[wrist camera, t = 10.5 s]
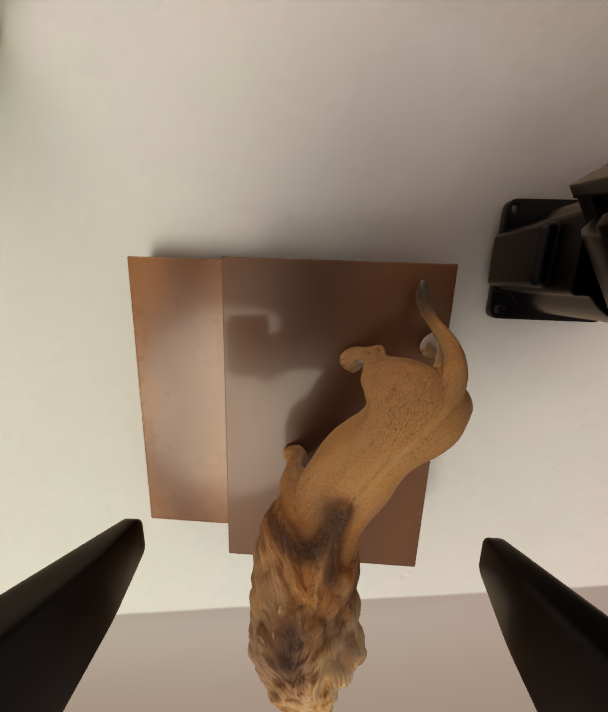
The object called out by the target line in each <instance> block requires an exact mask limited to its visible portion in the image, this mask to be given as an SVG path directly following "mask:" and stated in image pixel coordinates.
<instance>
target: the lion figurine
mask: <svg viewBox="0 0 608 712" xmlns="http://www.w3.org/2000/svg"><path fill="white" fill-rule="evenodd" d="M429 292H430V288H429V284H428V282H427V281H424V280H422V281H420V285H419V287H418V289H417V291H416V302H417V306H418V308H419V311H420V314H421V315H422V317H423V318H424V320H425V322H426V323H427V325H428V326H429V328H430V330H431V331H432V333H430V334H428V335H427V336H426V337H425V338H424V339H423V340H422V342H421V344H420V350H421V352H422V355H423V356H424V357H425V358H436V359H435V363H434V365H433V367H431V366H429V365H427V364H425V363H422V362H420V361H417V360H413V359H409V358H402V357H391V356H387V355H386V352H385V348H384V347H383V346H381V345H374V346H370V347H351V348H349V349H346V350H345V351H343V352H342V353H341V355H340V365H341V366H342V367H343V368H344V369H346V370H347V371H349V372H352V373H353V372H356V371H358V370H359V369H360V368H361V367H362V366H363V370H362V375H361V385H362V387H363V390H364V393H365V398H366V406H365V407H364V408H363V409H362V410H361V411H360V412H359V413H357V414H355V415H354V416H352V417H351V418H349V419H348V420H346V421H345V422H343V423H342V424H341V425H339V426H338V427H336V428H335V429H334V430H333V431H332V432H331V433H330V434H329V435H328V436H327V437H326V439H325V440H324V441H323V442H322V444H321V445H320V446H319V448H318V449H317V451H316V452H315V454H314V456H313V457H312V459H311V460H310V461H309V463H308V464H307V452H306V450H305V449H304V448H303V447H302V446H300V445H290V446H288V447H286V449H285V450H284V452H283V455H284V459H285V461H286V462H287V465H286V467H285V470H284V472H283V474H282V476H281V479H280V494H279V496H278V499H277V500H275V501H273V503H272V505H271V506H270V508H269V509H268V510H267V511H266V513H265V515H264V517H263V519H262V521H261V524H260V531H259V536H258V538H257V540H256V542H255V545H254V551H253V561H254V564H253V571H252V575H251V582H252V589H251V591H250V596H249V598H250V608H251V610H250V625H249V644H248V656H249V658H250V660H251V661H252V662H253V663H254V665H255V669H256V672H257V674H258V676H259V678H260V680H261V682H262V683H263V684H264V686H265V688H266V690H267V693H268V698H269V700H270V701H271V703H272V704H273V705H275V706H276V707H277V708H279V709H280V710H281V711H282V712H332V709H333V704H334V703H335V702H336V701H337V697H338V690H339V689H341V688H344V687H347V686H348V685H349V684H350V683H351V681H352V678H353V673H354V671H355V670H356V669H357V667H358V666H359V665H361V664H362V663H363V662H364V661H365V659H366V656H367V651H366V648H365V636H364V632H363V628H362V626H361V625H360V623H359V621H358V620H359V616H360V610H361V601H360V597H359V594H358V592H357V589H356V587H357V583H358V580H359V575H360V556H359V551H358V550H359V547H360V543H361V539H362V534H363V530H364V529H365V527H366V526H367V525H368V524H369V522H370V521H371V520H372V519H373V518H374V517H375V516H376V515H377V514H378V512H379V511H380V510H381V509H382V508H383V506H384V505H385V504H386V503H387V501H388V500H389V499H390V498H391V496H392V495H393V493H394V491H395V490H396V488H397V486H398V485H399V483H400V482H401V481H402V480H403V478H404V477H405V476H406V475H407V474H408V473H409V472H410V471H412V470H413V469H415V468H416V467H418V466H420V465H422V464H424V463H425V462H427V461H430V460H432V459H434V458H436V457H437V456H439V455H441V454H442V453H444V452H445V451H446V450H448V449H449V448H450V447H452V446H453V445H454V444H455V443H456V442H457V441H458V440H459V438H460V437H461V435H462V434H463V432H464V430H465V428H466V425H467V423H468V421H469V419H470V416H471V414H472V411H473V404H472V399H471V397H470V395H469V393H468V392H467V390H466V387H467V381H468V367H467V361H466V357H465V353H464V351H463V349H462V347H461V345H460V343H459V342H458V340H457V339H456V337H455V336H454V335H453V334H452V333H451V331H450V330H449V329H448V328H447V327H446V326H445V325H444V324H443V323H442V322H441V321H440V319H439V318H438V317H437V315H436V313H435V311H434V309H433V308H432V306H431V303H430V295H429ZM306 464H307V466H306ZM305 466H306V468H305Z"/></svg>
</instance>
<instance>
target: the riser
mask: <svg viewBox="0 0 608 712" xmlns="http://www.w3.org/2000/svg"><path fill="white" fill-rule="evenodd" d="M127 258H128V269H129V280H130V290H131V301H132V312H133V323H134V333H135V344H136V355H137V366H138V376H139V387H140V398H141V409H142V419H143V430H144V441H145V452H146V462H147V473H148V484H149V495H150V505H151V516H152V518H161V519H175V520H189V521H203V522H218V523H228V526H229V553H238V554H251V555H253V551H254V545H255V542H256V540H257V538H258V536H259V531H260V524H261V521H262V519H263V517H264V515H265V513H266V511H267V510H268V509H269V508H270V506H271V505H272V503H273V501H275V500H277V499H278V496H279V494H280V479H281V476H282V474H283V472H284V470H285V467H286V465H287V462H286V461H285V459H284V455H283V452H284V450H285V449H286V447H288V446H290V445H300V446H302V447H303V448H304V449H305V450H306V452H307V464H308V463H309V461H310V460H311V459H312V457H313V456H314V454H315V452H316V451H317V449H318V448H319V446H320V445H321V444H322V442H323V441H324V440H325V439H326V437H327V436H328V435H329V434H330V433H331V432H332V431H333V430H334V429H335V428H336V427H338V426H339V425H341V424H342V423H343V422H345V421H346V420H348V419H349V418H351V417H352V416H354V415H355V414H357V413H359V412H360V411H361V410H362V409H363V408H364V407H365V406H366V398H365V393H364V390H363V387H362V385H361V375H362V370H363V366H362V367H361V368H360V369H359V370H358V371H356V372H353V373H352V372H349V371H347V370H346V369H344V368H343V367H342V366H341V365H340V355H341V353H342V352H343V351H345V350H346V349H349V348H351V347H370V346H374V345H381V346H383V347H384V348H385V352H386V355H387V356H391V357H402V358H409V359H413V360H417V361H420V362H422V363H425V364H427V365H429V366H431V367H433V365H434V363H435V359H436V358H425V357H424V356H423V355H422V352H421V350H420V344H421V342H422V340H423V339H424V338H425V337H426V336H427V335H428V334H430V333H432V331H431V330H430V328H429V326H428V325H427V323H426V322H425V320H424V318H423V317H422V315H421V314H420V311H419V308H418V306H417V302H416V291H417V289H418V287H419V285H420V281H422V280H424V281H427V282H428V284H429V288H430V292H429V295H430V303H431V306H432V308H433V309H434V311H435V313H436V315H437V317H438V318H439V319H440V321H441V322H442V323H443V324H444V325H445V326H446V327H447V328H448V329H449V323H450V316H451V309H452V302H453V295H454V288H455V282H456V275H457V268H458V265H457V264H436V263H405V262H374V261H343V260H312V259H281V258H250V257H222V259H196V258H165V257H134V256H128V257H127ZM429 463H430V461H427V462H425V463H424V464H422V465H420V466H418V467H416V468H415V469H413V470H412V471H410V472H409V473H408V474H407V475H406V476H405V477H404V478H403V480H402V481H401V482H400V483H399V485H398V486H397V488H396V490H395V491H394V493H393V495H392V496H391V498H390V499H389V500H388V501H387V503H386V504H385V505H384V506H383V508H382V509H381V510H380V511H379V512H378V514H377V515H376V516H375V517H374V518H373V519H372V520H371V521H370V522H369V524H368V525H367V526H366V527H365V529H364V530H363V534H362V539H361V543H360V547H359V550H358V551H359V556H360V563H372V564H385V565H399V566H412V567H414V566H415V561H416V554H417V547H418V540H419V533H420V526H421V519H422V512H423V505H424V498H425V491H426V484H427V477H428V470H429ZM307 464H306V466H307ZM306 466H305V468H306Z"/></svg>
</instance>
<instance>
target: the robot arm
mask: <svg viewBox="0 0 608 712" xmlns="http://www.w3.org/2000/svg"><path fill="white" fill-rule="evenodd" d="M569 187H570V189H571V192H572V195H573V198H577V199H578V200H556V199H514V200H512V201H510V202H508V203H507V204H506V205H505V206H504V209H503V213H502V219H501V225H500V231H499V235H498V236H497V237H496V238H495V242H494V248H493V254H492V260H491V266H490V272H489V278H488V282H489V284H490V290H489V296H488V302H487V308H486V312H487V314H488V315H489V316H490V317H493V318H503V319H529V320H554V321H579V322H597V321H602V322H608V164H607V165H605V166H603V167H601V168H599V169H598V170H596V171H594V172H592V173H590V174H589V175H587V176H585V177H583V178H581V179H579V180H578V181H576V182H574V183H572V184H571V185H569ZM513 205H514V206H516V207H517V211H516V213H513V212H512V206H513ZM496 306H499V311H498V312H497V313H495V312H494V308H495V307H496ZM144 549H145V541H144V533H143V525H142V522H141V520H139V519H124V520H122V521H120V522H119V523H117V524H115V525H114V526H112V527H111V528H109V529H107V530H106V531H104V532H102V533H101V534H99V535H97V536H96V537H94V538H93V539H91V540H89V541H88V542H86V543H84V544H83V545H81V546H79V547H78V548H76V549H75V550H73V551H71V552H70V553H68V554H66V555H65V556H63V557H61V558H60V559H58V560H57V561H55V562H53V563H52V564H50V565H48V566H47V567H45V568H43V569H42V570H40V571H39V572H37V573H35V574H34V575H32V576H30V577H29V578H27V579H26V580H24V581H22V582H21V583H19V584H17V585H16V586H14V587H12V588H11V589H9V590H7V591H6V592H4V593H3V594H1V595H0V712H63V710H64V709H65V707H66V705H67V703H68V701H69V700H70V698H71V696H72V694H73V692H74V691H75V689H76V687H77V685H78V683H79V681H80V680H81V678H82V676H83V674H84V672H85V671H86V669H87V667H88V665H89V663H90V662H91V660H92V658H93V656H94V654H95V652H96V651H97V649H98V647H99V645H100V643H101V642H102V640H103V638H104V636H105V634H106V632H107V631H108V629H109V627H110V625H111V623H112V621H113V619H114V617H115V615H116V613H117V611H118V609H119V607H120V605H121V602H122V600H123V598H124V596H125V593H126V591H127V589H128V587H129V585H130V582H131V580H132V578H133V576H134V573H135V571H136V569H137V567H138V564H139V562H140V560H141V558H142V555H143V553H144ZM479 568H480V573H481V577H482V579H483V582H484V585H485V587H486V590H487V593H488V595H489V598H490V601H491V604H492V607H493V609H494V612H495V614H496V617H497V620H498V623H499V626H500V628H501V631H502V634H503V636H504V639H505V641H506V644H507V646H508V649H509V651H510V653H511V656H512V658H513V660H514V662H515V664H516V667H517V669H518V671H519V673H520V675H521V677H522V680H523V682H524V684H525V686H526V688H527V690H528V692H529V695H530V697H531V699H532V701H533V703H534V706H535V708H536V710H537V712H608V616H607V615H606V614H604V613H603V612H602V611H600V610H599V609H597V608H596V607H595V606H593V605H592V604H590V603H589V602H588V601H587V600H585V599H584V598H582V597H581V596H580V595H578V594H577V593H576V592H574V591H573V590H571V589H570V588H569V587H567V586H566V585H565V584H563V583H562V582H561V581H559V580H558V579H557V578H555V577H554V576H553V575H551V574H550V573H548V572H547V571H546V570H544V569H543V568H542V567H540V566H539V565H538V564H536V563H535V562H533V561H532V560H531V559H529V558H528V557H527V556H525V555H524V554H523V553H521V552H520V551H518V550H517V549H516V548H514V547H513V546H512V545H510V544H509V543H508V542H506V541H505V540H503V539H500V538H485V539H484V541H483V545H482V550H481V556H480V562H479Z"/></svg>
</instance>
